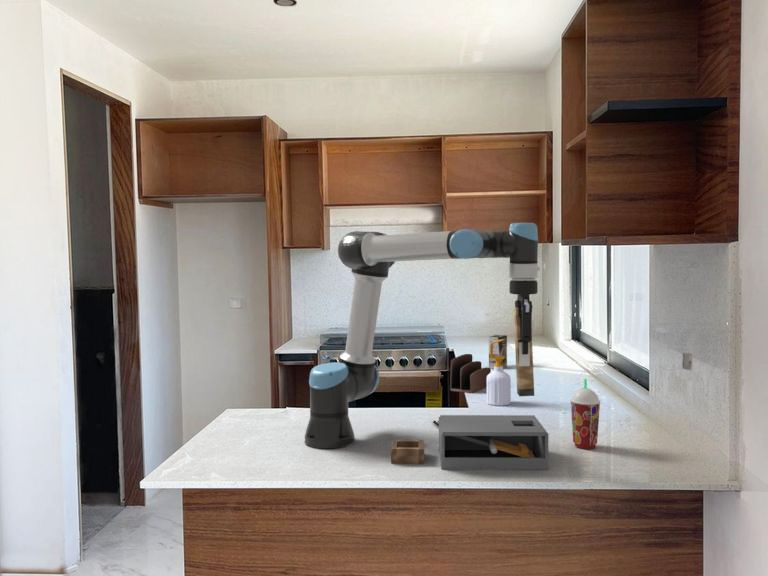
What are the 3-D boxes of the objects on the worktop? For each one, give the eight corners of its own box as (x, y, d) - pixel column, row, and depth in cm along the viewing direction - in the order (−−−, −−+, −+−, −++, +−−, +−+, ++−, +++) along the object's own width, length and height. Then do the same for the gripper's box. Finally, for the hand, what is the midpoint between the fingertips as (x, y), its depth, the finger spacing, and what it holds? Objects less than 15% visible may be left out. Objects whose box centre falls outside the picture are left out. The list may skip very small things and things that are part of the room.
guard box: (441, 469, 172) (441, 431, 172) (438, 449, 190) (438, 415, 190) (548, 469, 171) (548, 432, 170) (535, 449, 189) (535, 415, 188)
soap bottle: (508, 406, 242) (508, 341, 241) (484, 405, 245) (484, 340, 244) (512, 401, 251) (512, 338, 249) (488, 400, 254) (488, 337, 252)
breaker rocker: (449, 440, 173) (452, 431, 173) (446, 426, 188) (449, 417, 188) (536, 466, 172) (539, 457, 172) (526, 449, 187) (529, 441, 187)
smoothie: (605, 449, 188) (606, 380, 187) (580, 452, 186) (581, 382, 185) (589, 441, 196) (589, 375, 195) (564, 444, 194) (565, 377, 193)
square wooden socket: (391, 463, 177) (391, 449, 177) (392, 453, 186) (392, 439, 186) (424, 463, 177) (424, 449, 177) (423, 453, 186) (423, 439, 186)
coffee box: (500, 369, 321) (500, 337, 320) (488, 368, 324) (488, 336, 323) (507, 366, 328) (507, 335, 327) (495, 365, 332) (495, 334, 331)
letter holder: (449, 391, 272) (449, 357, 271) (470, 383, 288) (470, 351, 288) (471, 393, 266) (471, 359, 266) (491, 385, 283) (491, 353, 282)
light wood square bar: (519, 396, 177) (515, 308, 176) (517, 393, 181) (513, 307, 180) (534, 395, 177) (530, 308, 176) (531, 392, 181) (528, 306, 180)
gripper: (543, 280, 169) (542, 370, 170) (531, 278, 186) (531, 359, 187) (514, 280, 169) (514, 369, 170) (505, 278, 186) (504, 359, 188)
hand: (523, 364), depth 179 cm, fingers closed on light wood square bar, 4 cm apart
